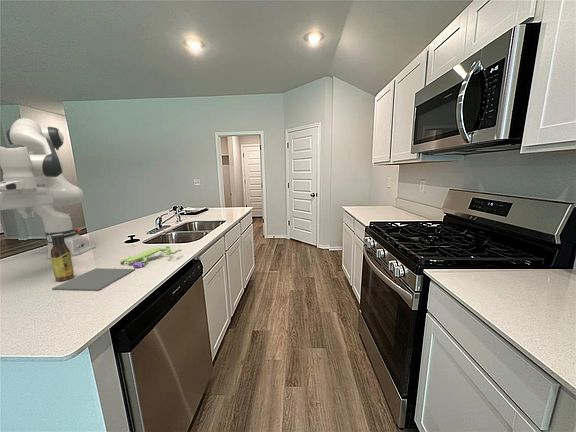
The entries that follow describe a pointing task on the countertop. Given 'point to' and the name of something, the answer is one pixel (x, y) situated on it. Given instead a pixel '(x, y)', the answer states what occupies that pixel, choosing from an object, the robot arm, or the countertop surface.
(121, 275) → the rubber mat
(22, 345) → the countertop surface
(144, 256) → the figurine
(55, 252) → the sauce bottle
